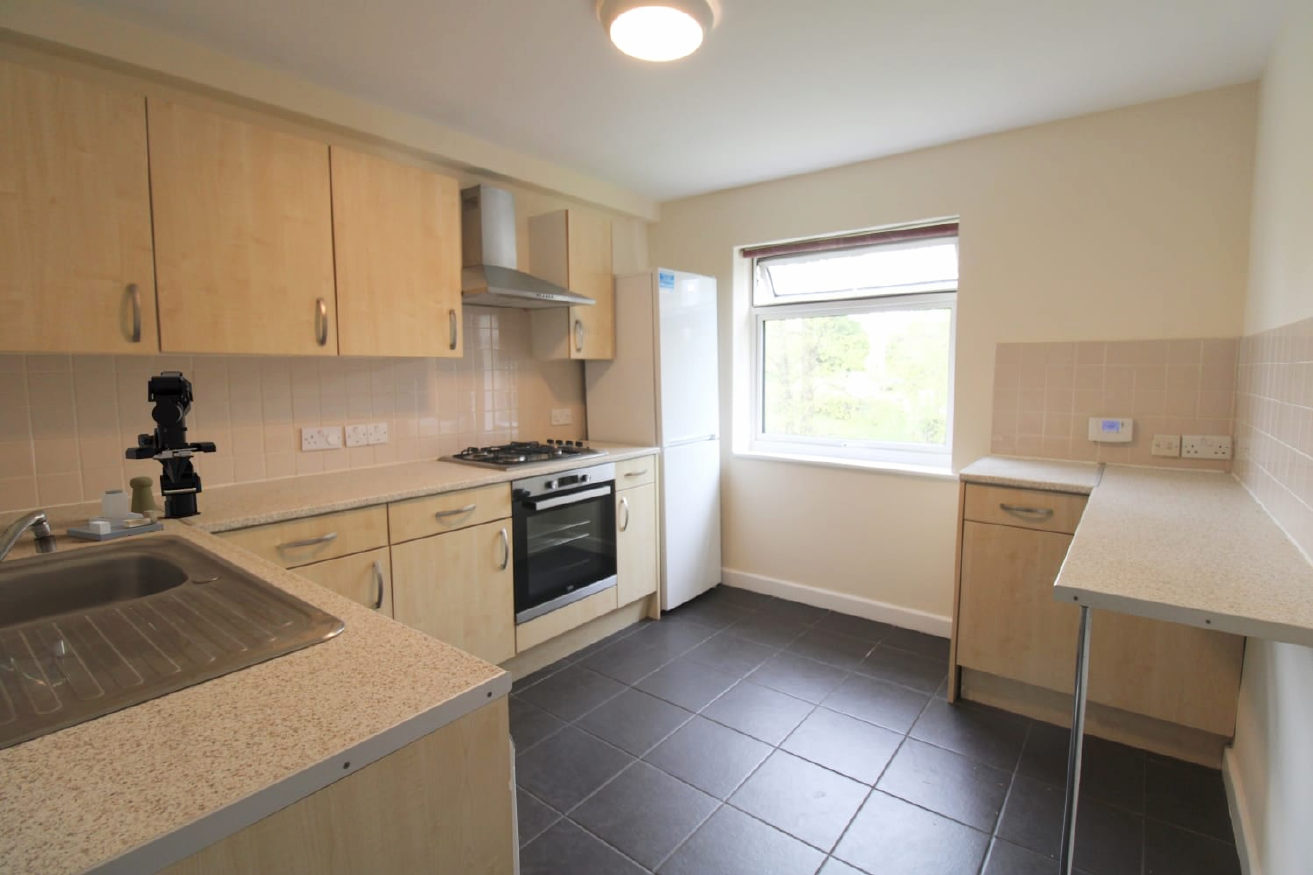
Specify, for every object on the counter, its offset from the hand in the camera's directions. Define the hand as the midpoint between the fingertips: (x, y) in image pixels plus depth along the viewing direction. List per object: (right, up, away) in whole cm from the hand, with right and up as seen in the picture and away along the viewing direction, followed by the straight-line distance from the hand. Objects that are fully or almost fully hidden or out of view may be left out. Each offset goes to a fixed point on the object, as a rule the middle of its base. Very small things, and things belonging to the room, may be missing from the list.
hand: (175, 482), depth 166 cm
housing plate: (-10, -12, -7) cm, 17 cm away
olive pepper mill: (-22, -11, +17) cm, 30 cm away
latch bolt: (-3, -10, -7) cm, 13 cm away
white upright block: (-12, -10, -4) cm, 17 cm away
